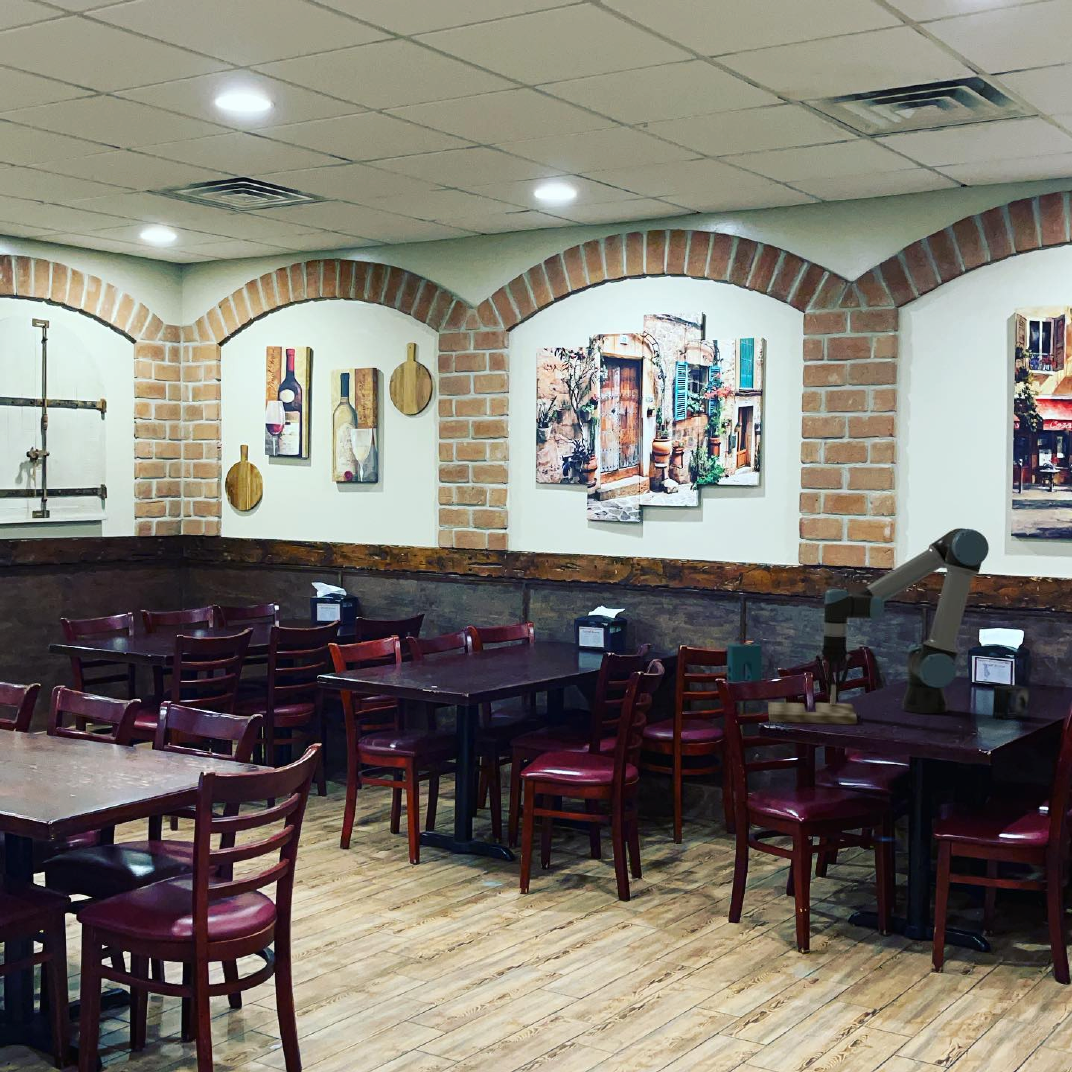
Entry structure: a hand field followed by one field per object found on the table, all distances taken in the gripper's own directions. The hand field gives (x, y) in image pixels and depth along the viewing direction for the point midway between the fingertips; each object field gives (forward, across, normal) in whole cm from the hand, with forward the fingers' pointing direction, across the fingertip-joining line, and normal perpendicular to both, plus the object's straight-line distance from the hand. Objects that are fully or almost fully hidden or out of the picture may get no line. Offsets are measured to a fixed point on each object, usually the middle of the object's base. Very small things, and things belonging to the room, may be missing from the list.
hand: (832, 704), depth 461 cm
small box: (+3, -60, -7) cm, 60 cm away
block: (+5, +30, -26) cm, 39 cm away
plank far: (+3, +15, +4) cm, 16 cm away
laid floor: (+4, +8, +14) cm, 16 cm away
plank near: (+3, -1, +4) cm, 5 cm away
